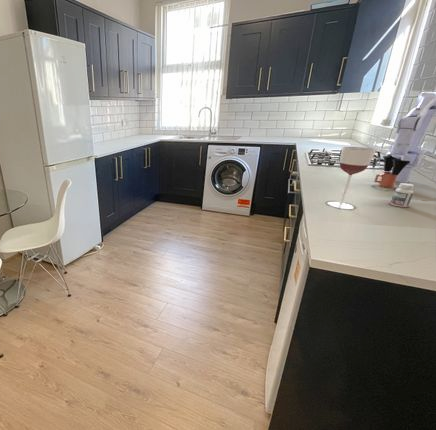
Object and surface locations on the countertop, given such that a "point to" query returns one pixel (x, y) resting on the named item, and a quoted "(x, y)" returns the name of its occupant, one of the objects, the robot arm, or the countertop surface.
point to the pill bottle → (402, 195)
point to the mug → (386, 179)
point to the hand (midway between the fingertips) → (390, 173)
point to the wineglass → (353, 167)
